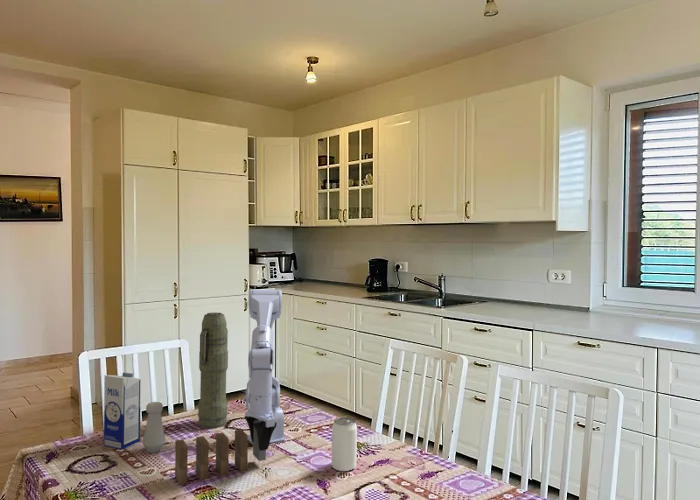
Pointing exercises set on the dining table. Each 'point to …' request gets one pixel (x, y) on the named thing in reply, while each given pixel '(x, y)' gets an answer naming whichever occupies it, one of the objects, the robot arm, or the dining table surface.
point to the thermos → (213, 371)
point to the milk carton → (121, 410)
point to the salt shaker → (154, 428)
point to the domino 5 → (256, 451)
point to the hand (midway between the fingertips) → (259, 445)
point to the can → (344, 444)
